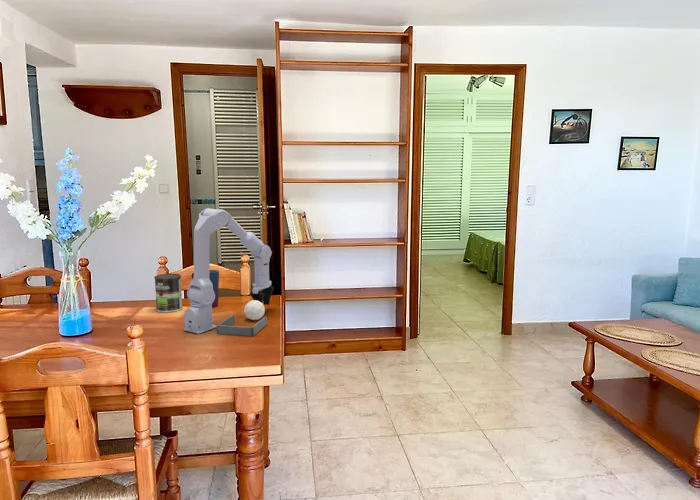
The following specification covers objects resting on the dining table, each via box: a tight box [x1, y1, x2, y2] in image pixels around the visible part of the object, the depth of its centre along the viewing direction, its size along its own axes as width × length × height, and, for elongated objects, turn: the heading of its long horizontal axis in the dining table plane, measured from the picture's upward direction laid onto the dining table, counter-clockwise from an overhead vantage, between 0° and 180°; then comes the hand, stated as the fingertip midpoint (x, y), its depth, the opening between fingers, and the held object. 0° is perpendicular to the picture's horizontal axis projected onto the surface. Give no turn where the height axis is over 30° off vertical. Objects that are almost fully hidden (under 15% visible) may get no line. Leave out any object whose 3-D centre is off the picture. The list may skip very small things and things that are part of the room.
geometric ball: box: [243, 299, 266, 321], centre depth 194 cm, size 8×8×8 cm
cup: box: [209, 269, 220, 308], centre depth 213 cm, size 7×7×15 cm
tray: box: [215, 314, 268, 337], centre depth 183 cm, size 14×14×3 cm
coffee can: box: [154, 273, 183, 314], centre depth 207 cm, size 10×10×14 cm
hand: (262, 306), depth 203 cm, fingers open, 7 cm apart
